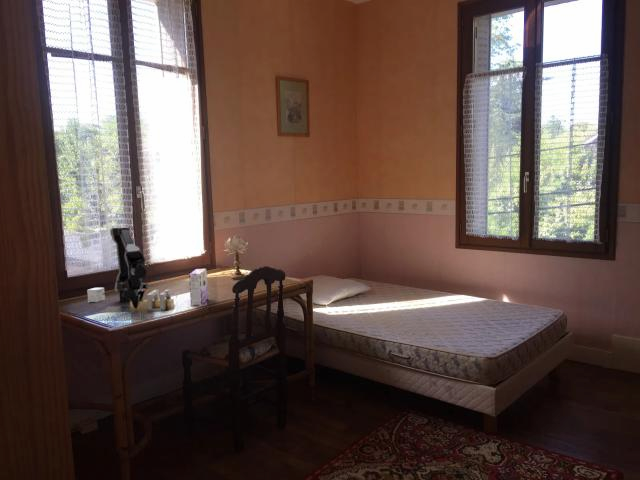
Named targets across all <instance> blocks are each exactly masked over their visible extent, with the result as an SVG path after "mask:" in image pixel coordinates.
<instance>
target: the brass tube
mask: <svg viewBox="0 0 640 480" xmlns="http://www.w3.org/2000/svg"><path fill="white" fill-rule="evenodd" d="M174 300H175V299H174V298H171V299H166V298H165V304H166V309H170V310H172V309H173V308H175V306H174V305H175V302H174ZM129 306H130V309H131V310H147V309H148V305H147V299H142V300H139V302H138V306H137V308H134V306H133V304H132V301H129ZM153 308H160V298H159V299H154V298H153Z"/></svg>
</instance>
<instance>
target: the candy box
mask: <svg viewBox="0 0 640 480" xmlns="http://www.w3.org/2000/svg"><path fill="white" fill-rule="evenodd" d="M207 273H208V271H207V268H195V269H194V270H193V271H192V272H190V273H189V275H188V277H189V278H188V279H189V294H190V296H189V298H190V306H191V307H193V306H194V307H200V306H199V305H202V306H203V305H204V304H205V303H206V302H207V301H208V300H209V289H208V288H209V287H208V274H207Z"/></svg>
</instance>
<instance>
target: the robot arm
mask: <svg viewBox="0 0 640 480" xmlns="http://www.w3.org/2000/svg"><path fill="white" fill-rule="evenodd" d="M109 234H110V237H111V239H112V241H113V242H114V244H115V247H116V254H117V255H116V256H117V263H118V264H117V267H118V274H117V276H116V280H115V285H114V291H115V292H116V293H118V299H119V303H127V302H130V301H132V304H133V306H134V308H137V306H138V302H139V300H144V296H145V294H146V291H147V290H148V289H149V284H148V283H147V282H143V281H142V280H143V279H144V278H145V277H146V276H147V269H146V268H145V267H144V266H143V265H145V264H146V263H145V261H146V259H145V257H144V254H143V252H142V251H141V249H140V248H139V246H137V245H135V242H134V239H133V238H132V235H131V231H130V227H129V226H125V225H124V226H113V227H112V228H111V229H110V230H109ZM144 289H145V290H144Z"/></svg>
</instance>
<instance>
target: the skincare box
mask: <svg viewBox="0 0 640 480" xmlns="http://www.w3.org/2000/svg"><path fill="white" fill-rule="evenodd" d="M86 291H87V292H86V293H87V303H88V304H89V303H98V302H101V301H106V292H105V287H93V288H89V289H87V290H86Z"/></svg>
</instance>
